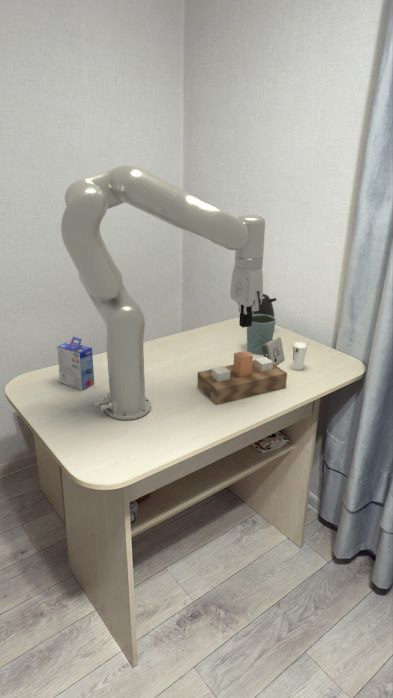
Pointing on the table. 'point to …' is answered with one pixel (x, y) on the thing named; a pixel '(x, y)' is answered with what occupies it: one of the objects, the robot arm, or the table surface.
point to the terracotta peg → (243, 363)
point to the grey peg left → (220, 374)
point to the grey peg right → (263, 364)
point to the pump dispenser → (266, 306)
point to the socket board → (241, 384)
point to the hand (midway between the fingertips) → (245, 325)
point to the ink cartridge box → (75, 364)
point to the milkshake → (299, 355)
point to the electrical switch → (273, 350)
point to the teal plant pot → (259, 332)
